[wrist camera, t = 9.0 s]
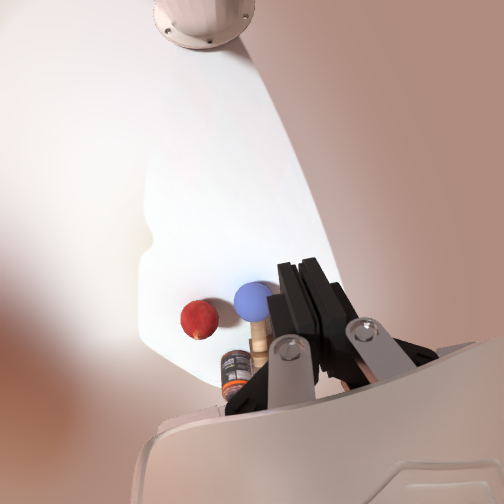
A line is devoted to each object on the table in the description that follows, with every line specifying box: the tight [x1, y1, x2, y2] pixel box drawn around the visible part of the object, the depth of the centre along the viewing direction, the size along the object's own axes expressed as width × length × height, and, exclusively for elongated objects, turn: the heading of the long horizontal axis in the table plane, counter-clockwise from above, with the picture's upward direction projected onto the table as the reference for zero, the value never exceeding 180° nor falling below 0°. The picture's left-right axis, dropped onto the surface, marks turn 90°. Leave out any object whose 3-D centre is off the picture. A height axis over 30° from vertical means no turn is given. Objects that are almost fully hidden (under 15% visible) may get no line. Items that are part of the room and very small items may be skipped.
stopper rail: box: [249, 335, 274, 362], centre depth 49 cm, size 2×9×4 cm, turn 99°
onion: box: [181, 300, 219, 340], centre depth 42 cm, size 6×6×8 cm
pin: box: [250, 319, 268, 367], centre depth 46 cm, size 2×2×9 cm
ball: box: [234, 282, 273, 322], centre depth 43 cm, size 6×6×6 cm
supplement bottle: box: [221, 351, 254, 402], centre depth 48 cm, size 6×6×11 cm
